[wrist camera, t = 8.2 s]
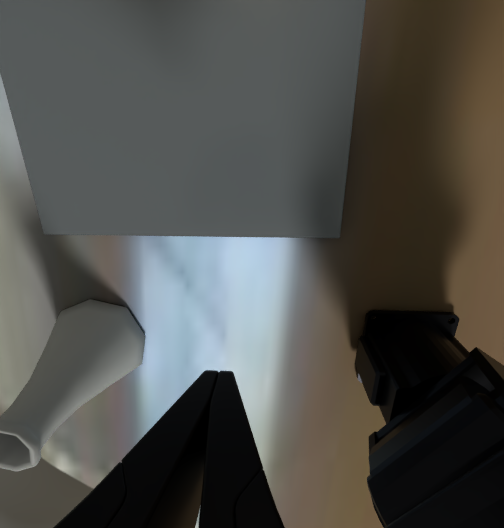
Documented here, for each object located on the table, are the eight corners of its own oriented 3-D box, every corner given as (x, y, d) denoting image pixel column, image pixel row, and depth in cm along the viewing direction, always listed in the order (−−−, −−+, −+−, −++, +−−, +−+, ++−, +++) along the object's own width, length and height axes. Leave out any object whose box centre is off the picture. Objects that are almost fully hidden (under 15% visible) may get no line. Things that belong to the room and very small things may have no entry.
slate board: (383, -211, 13) (392, -239, 12) (336, 233, 20) (339, 238, 19) (-52, -184, 14) (-75, -207, 13) (53, 230, 21) (43, 234, 20)
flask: (76, 372, 26) (-29, 496, 17) (48, 299, 24) (-95, 399, 14) (155, 369, 26) (91, 496, 16) (136, 294, 23) (46, 395, 14)
